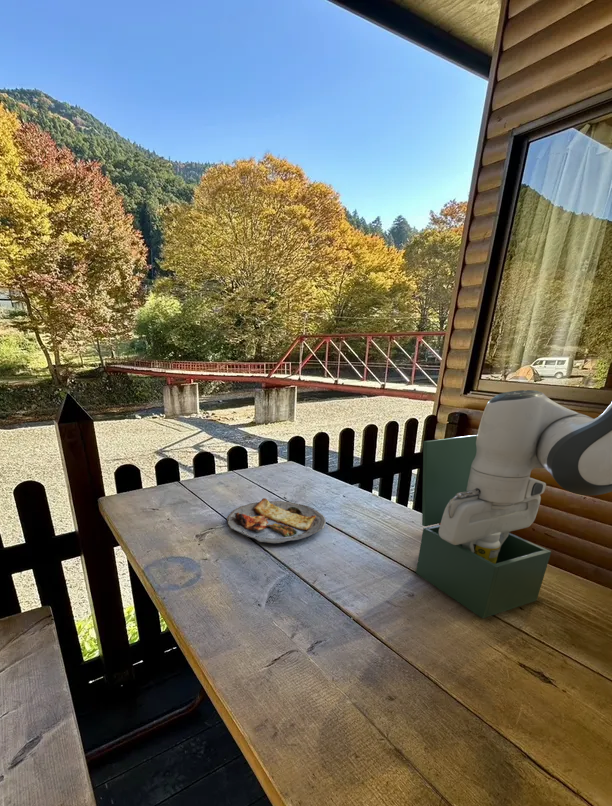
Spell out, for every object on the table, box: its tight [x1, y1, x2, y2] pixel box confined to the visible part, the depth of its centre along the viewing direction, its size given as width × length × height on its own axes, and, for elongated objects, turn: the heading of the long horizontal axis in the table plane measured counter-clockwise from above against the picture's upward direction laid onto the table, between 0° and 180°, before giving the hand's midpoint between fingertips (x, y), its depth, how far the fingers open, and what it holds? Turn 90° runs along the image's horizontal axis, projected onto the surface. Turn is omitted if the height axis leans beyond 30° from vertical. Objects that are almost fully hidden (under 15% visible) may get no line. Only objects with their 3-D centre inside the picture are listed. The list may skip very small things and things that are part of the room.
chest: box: [415, 524, 552, 619], centre depth 77 cm, size 16×14×11 cm
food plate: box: [226, 498, 327, 544], centre depth 106 cm, size 25×23×4 cm
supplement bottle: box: [473, 532, 501, 564], centre depth 76 cm, size 5×5×8 cm
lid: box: [421, 434, 477, 527], centre depth 80 cm, size 16×14×1 cm
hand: (480, 554), depth 77 cm, fingers closed on supplement bottle, 5 cm apart
